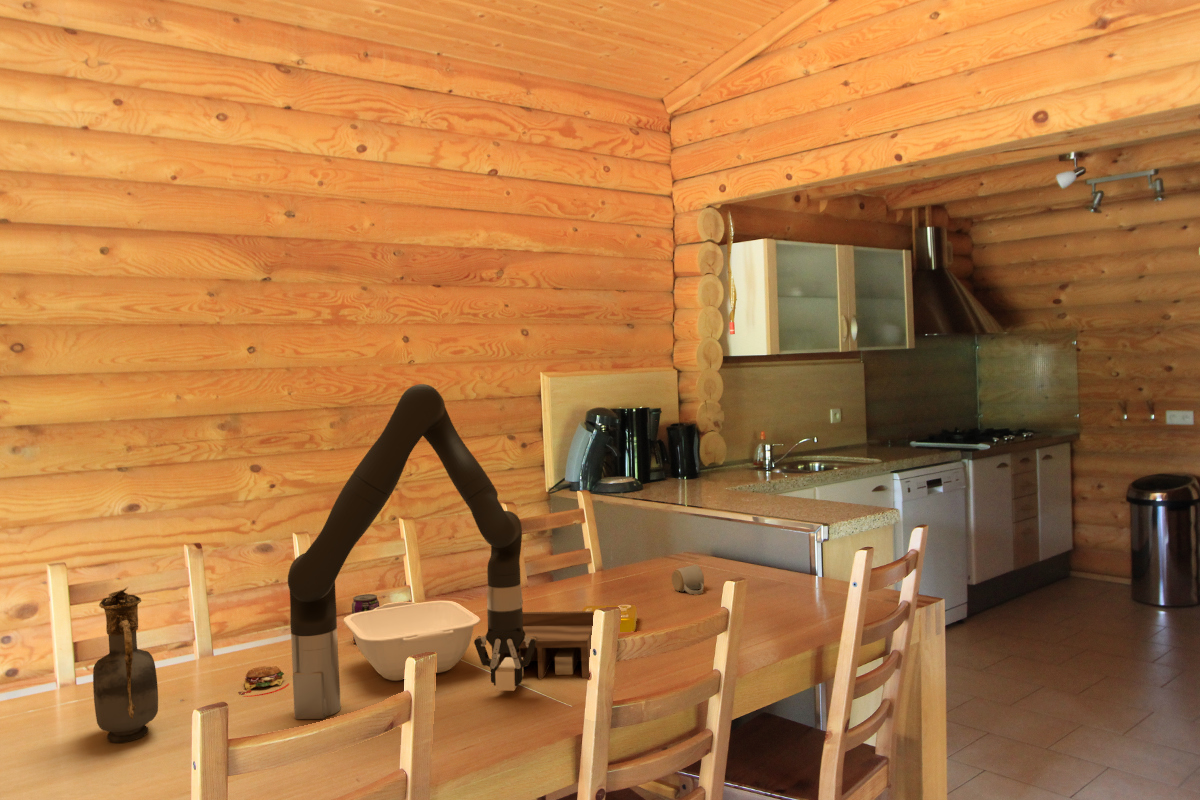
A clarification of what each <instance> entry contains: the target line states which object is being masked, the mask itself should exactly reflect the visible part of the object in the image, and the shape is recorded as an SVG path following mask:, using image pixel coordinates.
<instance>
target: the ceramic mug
mask: <svg viewBox="0 0 1200 800" xmlns="http://www.w3.org/2000/svg"><path fill="white" fill-rule="evenodd" d="M671 584H672V586H673V588H674V590H676V592H679V591H680V593H684V591H685V593H687V594H690V595H692V594H699V595H701V594H703V592H704V586H705V578H704V573H703V571H702V568H701V567H700V565H698V564H692V565H688V566H684V567H680V568H677V569H674V570H673V572H672V573H671ZM698 589H699V590H698Z"/></svg>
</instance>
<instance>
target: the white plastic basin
mask: <svg viewBox="0 0 1200 800" xmlns="http://www.w3.org/2000/svg"><path fill="white" fill-rule="evenodd" d="M343 623H344V625H345V626H346V627H347V628H348V629H349V630H350V631H351V633H352V637H353V636H354V639H355V644H356V646H357V648H358V650H359V652H360V653H361V654H362V656H364V658H365V659H366V660H367V662H368V663H369V664H370V666H371V667H373V669H374V670H375V671H376V672H377V674H379V675H380V676H381V677H383V679H386V680H389V681H392V682H393V681H394V682H395V681H396V682H397V681H398V682H399V681H404V680H403V678H404V669H405V661H406V659H407V658H408V657H409V656H412V655H416V654H421V653H425V652H436V653H437V673H436V674H440V673H445V672H447V671H450V670H451V669H452V668H454V667H455V666H456V665H457V663H459V662H460V660H461V659H462V658H463V657H464V655H465V654H466V652H467V650H468V648H469V646H470V644H471V640H472V636H473V633H474V627H475V626H477V625H479V624H480V623H481V618H480V617H479V616H478V615H476V614H475V613H473V612H471V611H470V610H468V609H467V608H465V607H464V606H462V605H461V604H459V603H458V602H455V601H452V600H433V601H425V602H418V603H417V602H413V601H410V602H409V601H408V602H407V601H396V602H389V603H385V604H382V605H379V607H377V608H375V609H373V610H370V611H364V612H359V613H354V614H352V613H351V614H348V615H347V616H345V617H344V618H343Z"/></svg>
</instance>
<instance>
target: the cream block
mask: <svg viewBox="0 0 1200 800" xmlns="http://www.w3.org/2000/svg"><path fill="white" fill-rule="evenodd" d="M522 659H523V658H522ZM514 669H515V664H514V661H513V659H512V657H505V659H504V660H503V662H502V663H501V664H500V666H499V667H498V669H497V670H496V671H495V678H496V686H495V691H513V692H514V691H515V690H516V688H517V687H518V686H515V671H514ZM522 673H523V674H524V667H522Z"/></svg>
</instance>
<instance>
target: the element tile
mask: <svg viewBox="0 0 1200 800" xmlns="http://www.w3.org/2000/svg"><path fill="white" fill-rule="evenodd" d="M606 607H619V608H620V610H621V624H620V632H631V631H635V629H636V630H637V624H636V621H637V622H638V612H637V610H638V608H637V606H636V605H634V604H616V605H615V604H613V605H611V604H610V605H606V604H605V605H586V606H584V607H583V608H582V610H581V611H593V612H594V610H595V609H598V608H606ZM635 632H636V631H635Z"/></svg>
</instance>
